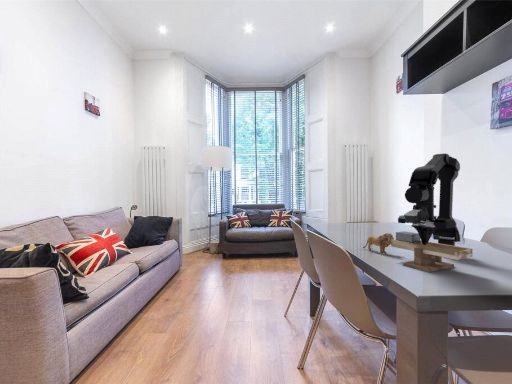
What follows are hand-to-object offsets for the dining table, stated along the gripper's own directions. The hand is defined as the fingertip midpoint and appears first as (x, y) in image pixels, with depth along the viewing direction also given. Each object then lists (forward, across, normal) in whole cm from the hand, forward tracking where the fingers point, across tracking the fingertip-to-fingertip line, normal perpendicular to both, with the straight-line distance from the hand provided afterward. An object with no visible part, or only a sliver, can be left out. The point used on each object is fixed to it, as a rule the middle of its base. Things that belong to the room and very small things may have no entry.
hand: (424, 244), depth 107 cm
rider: (+1, -7, 0) cm, 7 cm away
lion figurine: (+8, -24, +3) cm, 25 cm away
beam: (+2, +1, 0) cm, 2 cm away
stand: (+8, +1, 0) cm, 8 cm away
